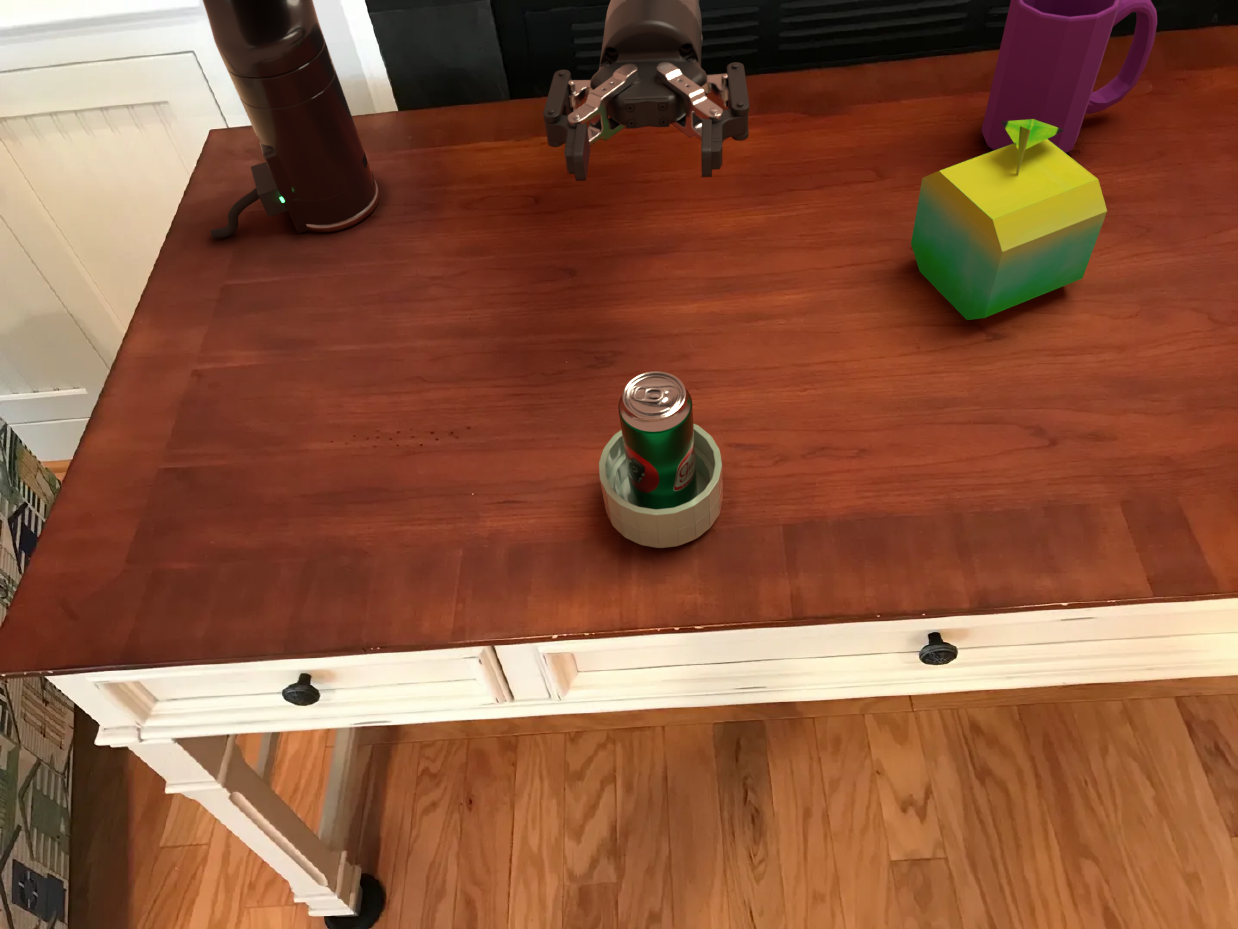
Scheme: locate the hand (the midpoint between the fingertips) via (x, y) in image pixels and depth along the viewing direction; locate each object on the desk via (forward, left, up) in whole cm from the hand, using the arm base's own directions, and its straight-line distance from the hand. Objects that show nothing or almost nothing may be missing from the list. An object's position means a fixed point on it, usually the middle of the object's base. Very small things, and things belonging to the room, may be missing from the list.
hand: (642, 168), depth 65 cm
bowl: (-5, -11, -22) cm, 25 cm away
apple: (+31, -1, -23) cm, 39 cm away
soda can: (-4, -11, -22) cm, 25 cm away
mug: (+49, +14, -22) cm, 56 cm away
